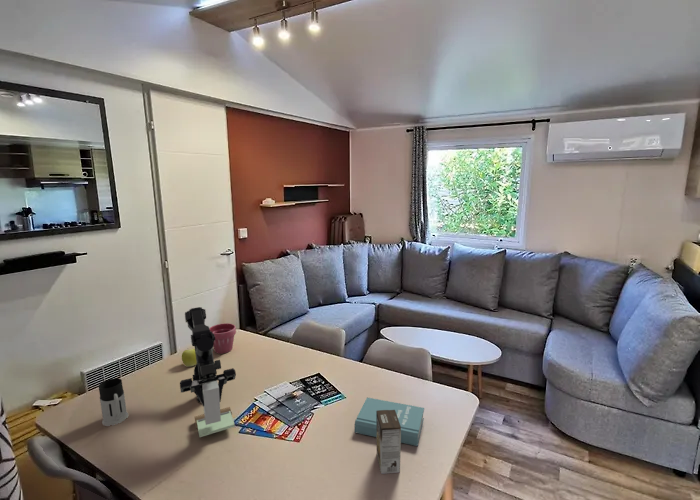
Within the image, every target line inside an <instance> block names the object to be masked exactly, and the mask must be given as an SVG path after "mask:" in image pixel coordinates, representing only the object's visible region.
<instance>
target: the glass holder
mask: <svg viewBox="0 0 700 500" xmlns="http://www.w3.org/2000/svg"><path fill="white" fill-rule="evenodd" d="M98 392H99V401H100V402H99V403H100V409H101V414H102V415H101V416H102V421H101V423H102V426H106V427H111V426H110V425H112V426H116V425H118V423H119V424H120V423H122V421H123V422H124V421H126V420H127V419H126V418H128V417H129V413H128V410H127V406H126V398H125V397H126V396H125V391H124V387H123V380H122V379H121V378H117V377H114V378H109V379H106V380H105V381H102V382H101V383H99V384H98ZM125 419H126V420H125ZM115 424H116V425H115Z"/></svg>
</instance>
